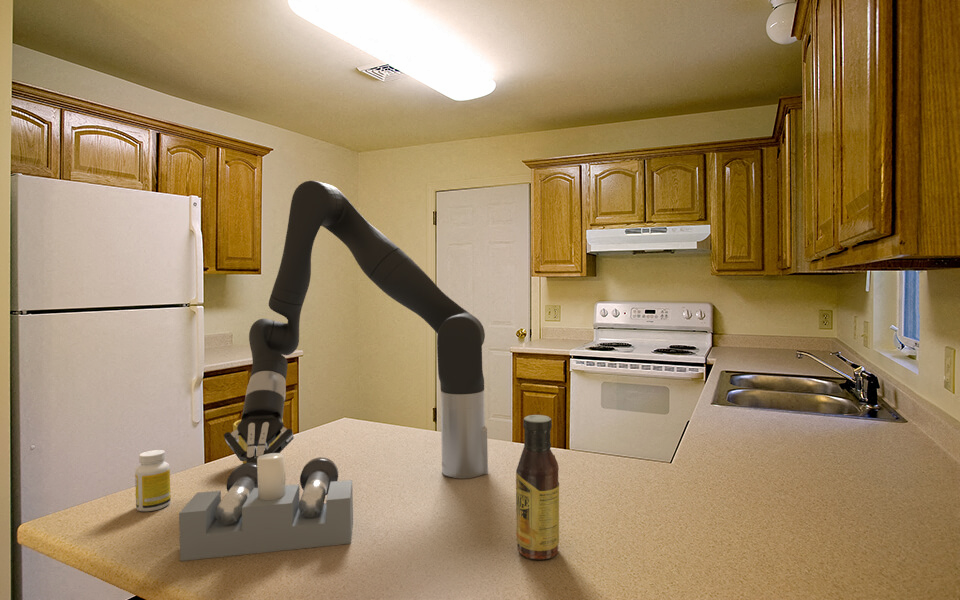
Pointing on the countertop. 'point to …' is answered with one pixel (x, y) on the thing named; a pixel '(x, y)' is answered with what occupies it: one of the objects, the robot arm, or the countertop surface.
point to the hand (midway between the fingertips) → (252, 479)
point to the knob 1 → (237, 493)
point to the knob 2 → (316, 485)
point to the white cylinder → (271, 476)
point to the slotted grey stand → (265, 524)
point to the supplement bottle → (152, 481)
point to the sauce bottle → (537, 492)
